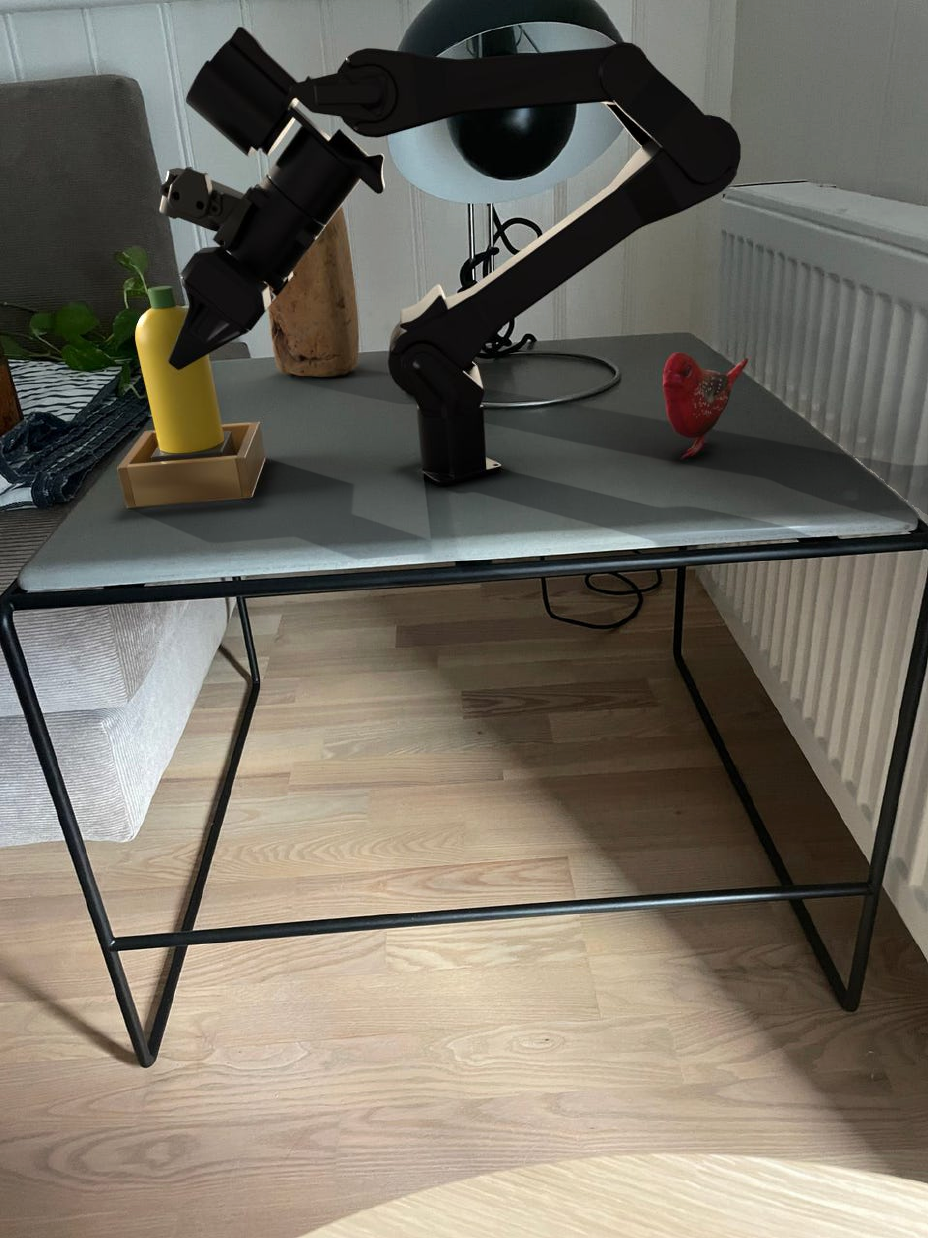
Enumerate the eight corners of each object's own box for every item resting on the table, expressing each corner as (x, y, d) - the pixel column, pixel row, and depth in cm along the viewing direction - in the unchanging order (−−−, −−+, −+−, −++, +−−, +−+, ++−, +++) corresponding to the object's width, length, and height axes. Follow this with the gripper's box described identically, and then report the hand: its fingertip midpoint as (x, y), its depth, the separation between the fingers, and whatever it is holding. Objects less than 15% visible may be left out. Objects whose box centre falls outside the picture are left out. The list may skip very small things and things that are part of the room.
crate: (266, 465, 90) (259, 421, 88) (253, 505, 81) (244, 457, 79) (155, 474, 90) (144, 430, 87) (128, 516, 80) (116, 467, 78)
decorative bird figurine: (644, 474, 81) (647, 357, 77) (728, 419, 93) (736, 315, 89) (675, 479, 80) (680, 360, 75) (757, 423, 92) (766, 317, 87)
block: (368, 365, 124) (350, 199, 114) (349, 380, 117) (328, 205, 108) (291, 365, 126) (267, 203, 117) (268, 380, 120) (241, 209, 110)
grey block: (238, 467, 87) (231, 430, 86) (228, 489, 82) (221, 451, 80) (172, 472, 87) (164, 435, 86) (159, 495, 82) (150, 456, 80)
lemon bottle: (232, 432, 85) (204, 280, 79) (212, 452, 80) (180, 292, 74) (173, 434, 86) (140, 283, 80) (149, 454, 81) (113, 295, 75)
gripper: (231, 123, 80) (132, 270, 85) (183, 125, 63) (63, 308, 68) (337, 216, 83) (235, 352, 89) (317, 241, 67) (193, 406, 72)
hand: (186, 353), depth 79 cm, fingers open, 9 cm apart
